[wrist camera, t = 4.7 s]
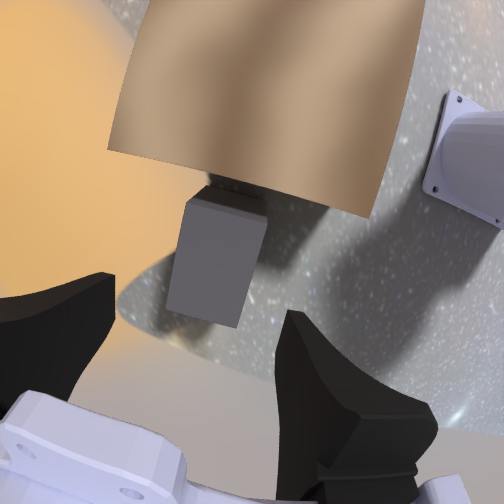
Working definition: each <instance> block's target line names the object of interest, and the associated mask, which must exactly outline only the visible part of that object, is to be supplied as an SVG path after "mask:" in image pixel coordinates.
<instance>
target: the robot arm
mask: <svg viewBox="0 0 504 504" xmlns="http://www.w3.org/2000/svg"><path fill="white" fill-rule="evenodd" d="M457 97H458V98H459V100H460V102H458V101H457ZM434 186H435V187H436V191H435V192H433V191H432V190H433V187H434ZM422 190H423V191H424V192H425V193H427V194H429V195H431V196H434V197H436V198H438V199H440V200H443V201H445V202H447V203H449V204H451V205H454V206H456V207H458V208H460V209H462V210H464V211H466V212H468V213H470V214H473V215H475V216H477V217H479V218H481V219H483V220H485V221H487V222H489V223H491V224H493V225H495V226H496V227H498V228H500V229H502V230H504V111H487V110H485V109H484V108H482V107H481V106H479V105H478V104H476V103H475V102H473V101H471V100H470V99H468V98H467V97H465V96H463V95H462V94H460V93H458V92H457V91H455V90H449V91H448V92H447V94H446V99H445V103H444V108H443V112H442V116H441V120H440V124H439V128H438V132H437V136H436V139H435V143H434V147H433V150H432V154H431V157H430V161H429V164H428V167H427V171H426V174H425V177H424V180H423V183H422ZM496 219H497V221H496ZM114 321H115V275H113V274H108V273H104V272H99V273H95V274H92V275H88V276H86V277H83V278H80V279H77V280H74V281H71V282H69V283H66V284H63V285H60V286H56V287H53V288H50V289H47V290H44V291H40V292H36V293H32V294H27V295H22V296H15V297H7V298H0V504H471V502H470V500H469V497H468V495H467V493H466V490H465V488H464V485H463V483H462V481H461V478H460V476H459V474H453V475H448V476H443V477H437V478H433V479H430V480H428V481H426V482H424V483H423V484H422V485H421V486H420V487H419V488H417V485H416V482H415V479H414V476H416V475H417V473H418V469H417V467H416V464H415V463H416V462H417V461H418V460H419V458H420V457H421V456H422V455H423V454H424V452H425V451H426V450H427V449H428V448H429V446H430V445H431V444H432V442H433V440H434V439H435V437H436V435H437V431H438V423H437V421H436V419H435V417H434V415H433V413H432V411H431V409H430V407H429V405H428V404H427V403H425V402H422V401H420V400H417V399H414V398H412V397H409V396H407V395H404V394H402V393H400V392H398V391H396V390H394V389H391V388H389V387H388V386H386V385H384V384H382V383H380V382H379V381H377V380H375V379H374V378H372V377H371V376H369V375H368V374H366V373H365V372H363V371H362V370H360V369H359V368H358V367H356V366H355V365H354V364H353V363H351V362H350V361H349V360H348V359H347V358H345V357H344V356H343V355H342V354H341V353H340V352H339V351H338V350H337V349H336V348H335V347H334V346H333V345H332V344H331V343H330V342H329V341H328V340H327V339H326V338H325V337H324V336H323V334H322V333H321V332H320V331H319V330H318V329H317V327H316V326H315V325H314V324H313V323H312V321H311V320H310V319H309V318H308V317H307V316H306V315H305V313H304V312H300V311H294V310H287V313H286V317H285V320H284V324H283V327H282V331H281V335H280V338H279V341H278V345H277V348H276V352H275V383H276V393H277V402H278V412H279V425H280V435H279V462H278V478H277V491H276V500H264V499H252V498H244V497H240V496H236V495H233V494H229V493H226V492H222V491H219V490H216V489H213V488H210V487H206V486H203V485H201V484H198V483H195V482H192V481H189V480H187V479H186V469H187V463H186V460H185V458H184V456H183V453H182V451H181V450H180V449H179V448H178V447H177V446H175V445H174V444H173V443H172V442H170V441H169V440H168V439H167V438H165V437H164V436H163V435H161V434H158V433H156V432H153V431H151V430H148V429H146V428H144V427H141V426H138V425H134V424H131V423H128V422H124V421H121V420H118V419H114V418H111V417H108V416H105V415H102V414H99V413H96V412H93V411H90V410H87V409H85V408H82V407H79V406H76V405H74V404H71V403H68V402H67V401H68V399H69V397H70V395H71V393H72V391H73V388H74V386H75V384H76V382H77V380H78V379H79V377H80V376H81V374H82V372H83V371H84V370H85V368H86V367H87V365H88V364H89V362H90V361H91V359H92V358H93V356H94V355H95V353H96V352H97V351H98V349H99V348H100V346H101V345H102V343H103V342H104V340H105V339H106V337H107V335H108V333H109V331H110V329H111V327H112V325H113V323H114Z"/></svg>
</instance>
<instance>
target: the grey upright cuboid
mask: <svg viewBox="0 0 504 504" xmlns="http://www.w3.org/2000/svg"><path fill="white" fill-rule="evenodd" d="M267 225H268V221H267V209H266V201H263V200H260V199H256V198H252V197H249V196H245V195H241V194H237V193H234V192H230V191H226V190H222V189H218V188H215V187H211V186H207V185H206V186H205V187H204V188H203V189H201V190H200V191H199V192H198V193H197V194H196V195H195V196H193V197H192V198H191V199H190V200H189V201H188V202H186V206H185V210H184V215H183V220H182V224H181V229H180V234H179V239H178V243H177V248H176V253H175V259H174V264H173V269H172V274H171V280H170V285H169V291H168V297H167V302H166V308H165V309H166V310H169V311H173V312H176V313H180V314H183V315H187V316H190V317H194V318H198V319H202V320H205V321H209V322H213V323H217V324H220V325H224V326H228V327H232V328H237V325H238V322H239V318H240V315H241V312H242V309H243V305H244V302H245V299H246V295H247V292H248V289H249V285H250V282H251V279H252V275H253V272H254V269H255V265H256V262H257V259H258V255H259V252H260V249H261V245H262V242H263V239H264V235H265V232H266V229H267Z"/></svg>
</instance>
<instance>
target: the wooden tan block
mask: <svg viewBox="0 0 504 504" xmlns="http://www.w3.org/2000/svg"><path fill="white" fill-rule="evenodd" d="M424 5H425V0H150V3H149V5H148V8H147V11H146V13H145V16H144V19H143V21H142V24H141V27H140V30H139V33H138V36H137V39H136V42H135V45H134V48H133V51H132V54H131V57H130V60H129V64H128V67H127V71H126V74H125V78H124V81H123V85H122V88H121V92H120V96H119V100H118V104H117V108H116V112H115V116H114V121H113V125H112V129H111V134H110V139H109V143H108V148H107V150H111V151H116V152H121V153H126V154H132V155H136V156H141V157H145V158H150V159H154V160H158V161H163V162H167V163H172V164H176V165H180V166H184V167H189V168H193V169H197V170H201V171H205V172H209V173H213V174H217V175H221V176H225V177H229V178H232V179H236V180H240V181H244V182H247V183H251V184H255V185H258V186H262V187H266V188H269V189H273V190H276V191H280V192H283V193H287V194H290V195H293V196H297V197H300V198H304V199H307V200H310V201H314V202H317V203H320V204H323V205H327V206H330V207H333V208H336V209H339V210H342V211H346V212H349V213H352V214H355V215H358V216H361V217H364V218H367V219H369V217H370V214H371V211H372V208H373V205H374V202H375V199H376V196H377V193H378V190H379V187H380V184H381V181H382V178H383V175H384V172H385V168H386V165H387V162H388V159H389V155H390V152H391V149H392V145H393V142H394V138H395V135H396V131H397V128H398V124H399V120H400V117H401V113H402V109H403V105H404V101H405V97H406V93H407V89H408V85H409V81H410V77H411V72H412V68H413V63H414V59H415V54H416V49H417V44H418V39H419V34H420V29H421V23H422V17H423V12H424Z"/></svg>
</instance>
